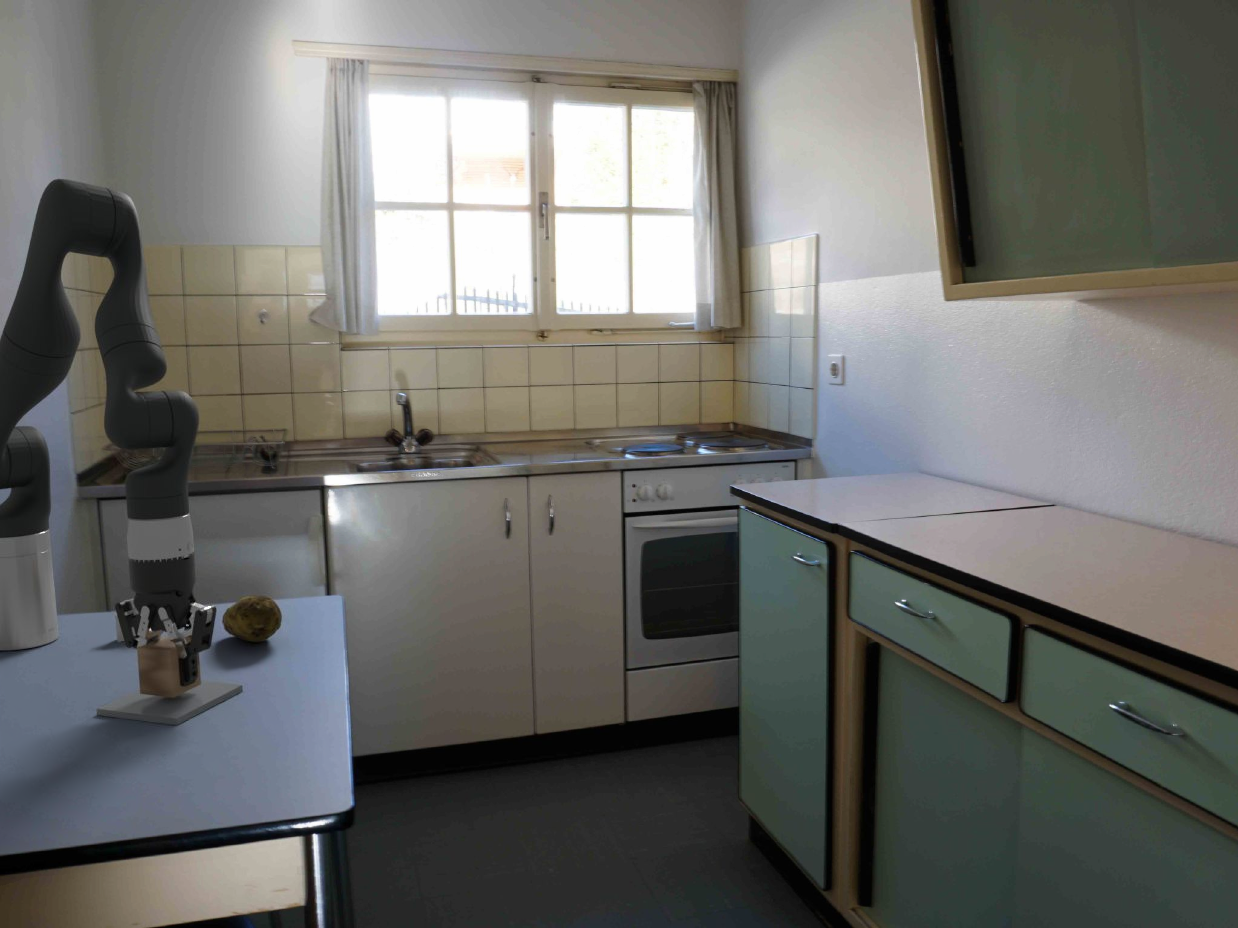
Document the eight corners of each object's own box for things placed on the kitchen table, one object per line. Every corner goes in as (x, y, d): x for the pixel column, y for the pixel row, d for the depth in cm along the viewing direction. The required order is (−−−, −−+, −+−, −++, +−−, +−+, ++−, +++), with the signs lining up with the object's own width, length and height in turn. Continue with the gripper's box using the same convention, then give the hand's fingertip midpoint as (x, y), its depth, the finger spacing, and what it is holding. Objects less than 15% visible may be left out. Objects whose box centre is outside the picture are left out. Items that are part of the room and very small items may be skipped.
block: (140, 693, 123) (136, 647, 122) (169, 680, 128) (166, 636, 127) (172, 697, 122) (169, 650, 121) (201, 684, 126) (198, 639, 126)
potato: (278, 628, 157) (275, 579, 156) (285, 651, 145) (282, 598, 144) (222, 635, 154) (219, 585, 153) (225, 659, 142) (221, 605, 141)
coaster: (96, 714, 121) (96, 708, 121) (167, 682, 132) (167, 676, 132) (176, 724, 118) (176, 718, 117) (242, 690, 129) (242, 684, 129)
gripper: (91, 554, 121) (102, 686, 123) (187, 560, 117) (196, 698, 119) (137, 542, 128) (146, 667, 130) (229, 547, 124) (237, 677, 126)
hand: (170, 681), depth 125 cm, fingers closed on block, 4 cm apart
